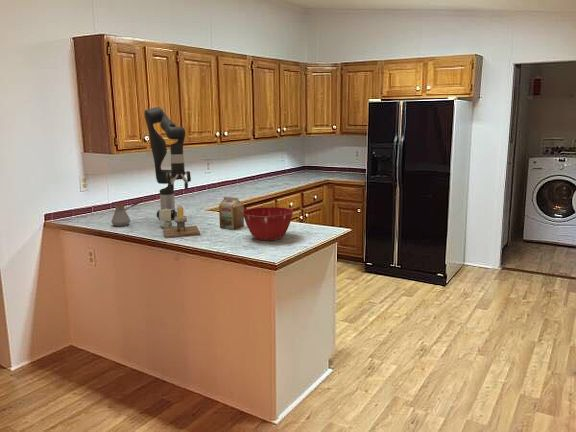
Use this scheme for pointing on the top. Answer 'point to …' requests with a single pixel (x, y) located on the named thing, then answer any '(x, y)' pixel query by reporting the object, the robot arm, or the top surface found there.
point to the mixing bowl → (268, 222)
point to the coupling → (180, 215)
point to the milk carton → (231, 213)
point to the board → (177, 233)
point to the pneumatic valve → (166, 216)
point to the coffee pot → (122, 215)
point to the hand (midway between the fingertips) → (179, 189)
